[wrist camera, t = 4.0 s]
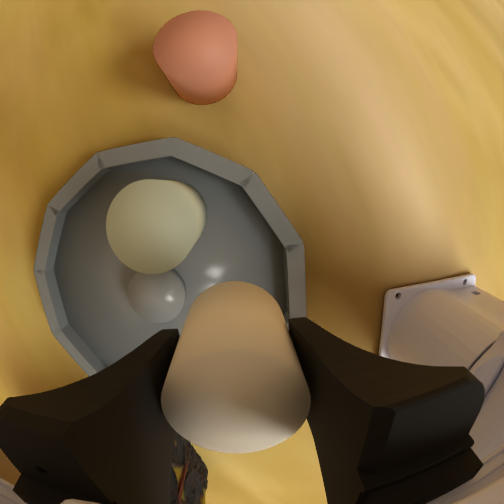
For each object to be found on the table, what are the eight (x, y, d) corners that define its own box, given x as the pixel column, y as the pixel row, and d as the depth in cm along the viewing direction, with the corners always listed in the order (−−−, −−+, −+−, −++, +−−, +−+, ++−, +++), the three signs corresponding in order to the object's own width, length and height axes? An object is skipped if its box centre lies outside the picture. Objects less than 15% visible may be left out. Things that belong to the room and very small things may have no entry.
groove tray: (287, 132, 17) (294, 125, 15) (300, 380, 21) (306, 398, 19) (38, 175, 16) (20, 175, 14) (90, 387, 20) (81, 402, 18)
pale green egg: (203, 176, 16) (190, 172, 11) (211, 245, 17) (201, 270, 12) (137, 185, 16) (100, 187, 11) (146, 252, 17) (114, 277, 12)
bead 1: (234, 47, 15) (234, 6, 10) (239, 101, 16) (240, 71, 11) (172, 55, 15) (153, 18, 10) (174, 109, 16) (152, 83, 11)
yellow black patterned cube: (76, 408, 21) (35, 482, 11) (167, 401, 21) (141, 501, 11) (127, 471, 23) (108, 539, 13) (210, 468, 23) (207, 549, 13)
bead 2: (301, 334, 12) (335, 414, 7) (226, 380, 12) (223, 466, 8) (246, 261, 11) (254, 319, 6) (167, 316, 12) (131, 392, 7)
